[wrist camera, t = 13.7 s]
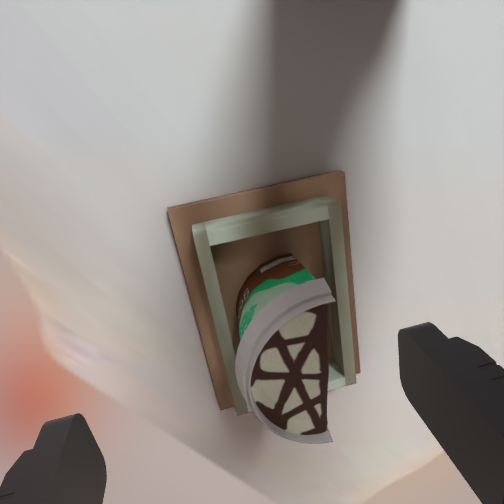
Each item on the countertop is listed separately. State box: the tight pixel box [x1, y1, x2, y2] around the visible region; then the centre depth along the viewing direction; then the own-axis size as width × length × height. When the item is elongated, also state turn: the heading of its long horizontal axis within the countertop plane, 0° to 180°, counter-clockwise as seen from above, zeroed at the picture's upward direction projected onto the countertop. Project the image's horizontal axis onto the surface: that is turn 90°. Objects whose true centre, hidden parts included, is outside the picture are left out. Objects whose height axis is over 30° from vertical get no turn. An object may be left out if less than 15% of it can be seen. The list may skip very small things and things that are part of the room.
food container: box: [235, 253, 335, 444], centre depth 30 cm, size 12×6×10 cm, turn 4°
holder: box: [167, 170, 360, 415], centre depth 34 cm, size 14×20×4 cm
